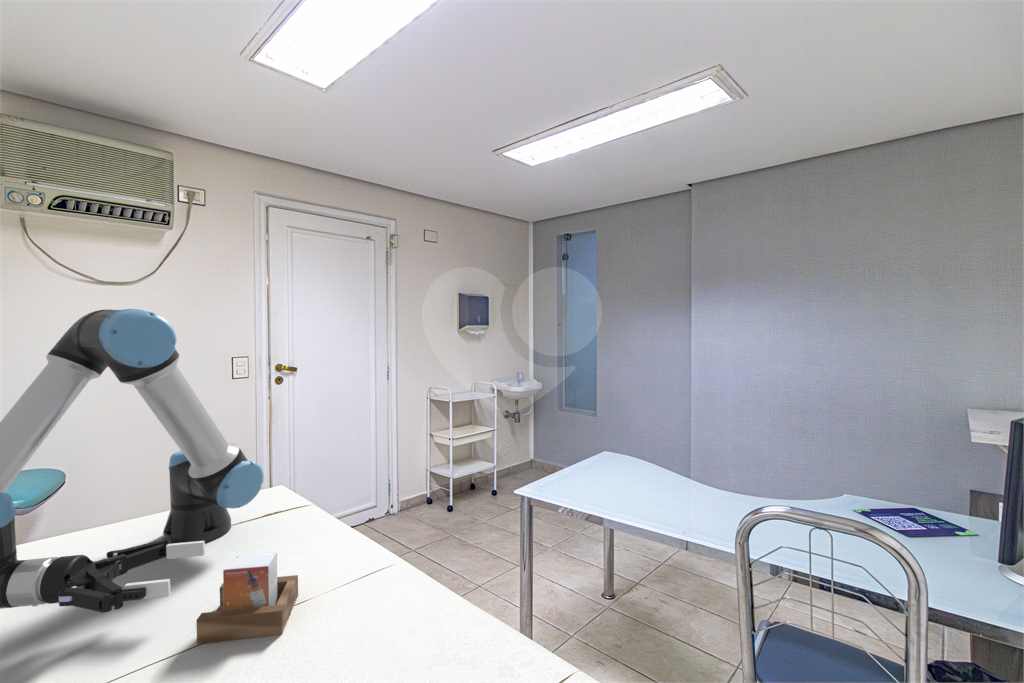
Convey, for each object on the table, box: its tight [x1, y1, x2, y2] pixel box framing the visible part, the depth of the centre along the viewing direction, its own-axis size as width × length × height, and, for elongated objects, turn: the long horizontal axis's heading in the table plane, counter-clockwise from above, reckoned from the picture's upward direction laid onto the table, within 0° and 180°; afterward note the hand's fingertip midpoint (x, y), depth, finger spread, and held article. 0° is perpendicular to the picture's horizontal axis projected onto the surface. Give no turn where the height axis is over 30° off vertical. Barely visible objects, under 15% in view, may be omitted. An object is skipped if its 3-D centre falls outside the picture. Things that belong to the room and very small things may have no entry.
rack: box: [196, 574, 299, 645], centre depth 90 cm, size 12×14×4 cm
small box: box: [222, 551, 278, 611], centre depth 89 cm, size 8×6×10 cm
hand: (188, 566), depth 87 cm, fingers open, 13 cm apart
